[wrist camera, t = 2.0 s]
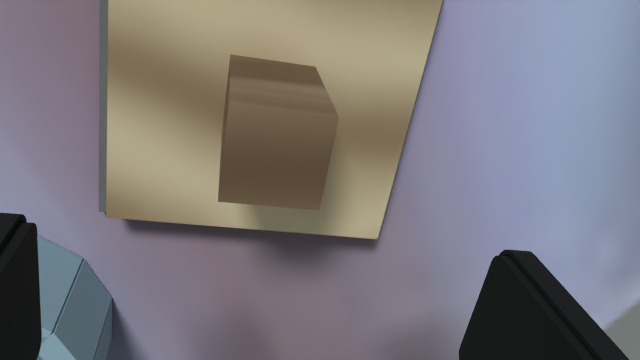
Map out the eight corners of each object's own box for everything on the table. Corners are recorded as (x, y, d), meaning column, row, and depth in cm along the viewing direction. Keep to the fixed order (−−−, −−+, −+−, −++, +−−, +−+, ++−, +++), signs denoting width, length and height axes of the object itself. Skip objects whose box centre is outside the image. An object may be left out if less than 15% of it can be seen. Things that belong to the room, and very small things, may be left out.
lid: (117, -99, 17) (62, -96, 12) (439, -36, 19) (519, -9, 14) (112, 202, 22) (72, 303, 16) (371, 224, 24) (410, 319, 19)
